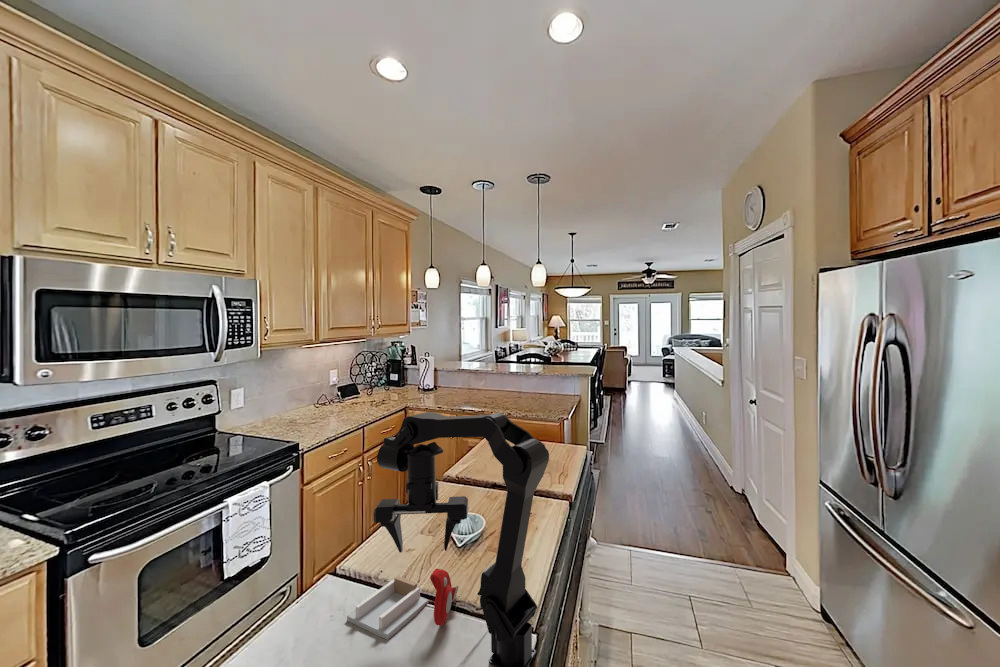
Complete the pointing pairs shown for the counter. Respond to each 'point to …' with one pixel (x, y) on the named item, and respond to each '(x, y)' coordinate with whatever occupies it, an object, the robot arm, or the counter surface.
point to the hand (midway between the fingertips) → (423, 550)
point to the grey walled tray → (389, 608)
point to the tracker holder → (442, 595)
